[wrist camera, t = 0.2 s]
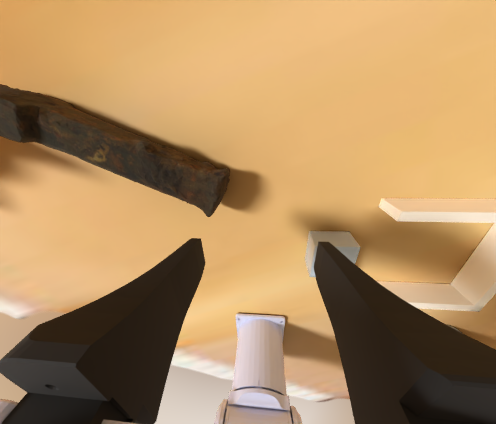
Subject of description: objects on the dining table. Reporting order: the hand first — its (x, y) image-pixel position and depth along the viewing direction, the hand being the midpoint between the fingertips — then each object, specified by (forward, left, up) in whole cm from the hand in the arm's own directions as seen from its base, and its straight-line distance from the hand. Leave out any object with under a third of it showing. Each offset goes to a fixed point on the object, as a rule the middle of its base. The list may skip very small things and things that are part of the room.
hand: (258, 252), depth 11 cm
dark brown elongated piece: (+5, +14, -10) cm, 18 cm away
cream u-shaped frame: (-7, -19, -9) cm, 22 cm away
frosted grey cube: (-7, -8, -10) cm, 14 cm away
